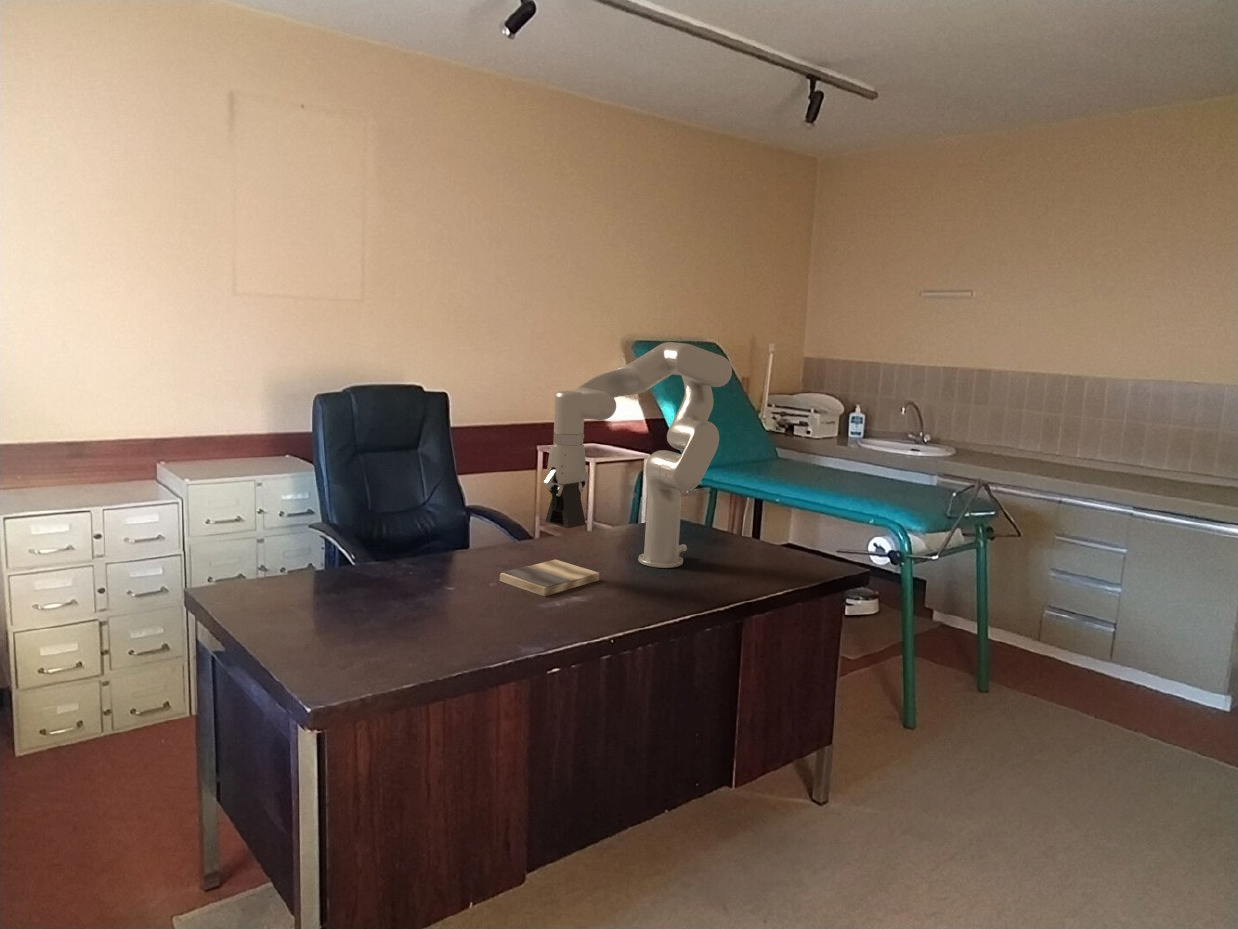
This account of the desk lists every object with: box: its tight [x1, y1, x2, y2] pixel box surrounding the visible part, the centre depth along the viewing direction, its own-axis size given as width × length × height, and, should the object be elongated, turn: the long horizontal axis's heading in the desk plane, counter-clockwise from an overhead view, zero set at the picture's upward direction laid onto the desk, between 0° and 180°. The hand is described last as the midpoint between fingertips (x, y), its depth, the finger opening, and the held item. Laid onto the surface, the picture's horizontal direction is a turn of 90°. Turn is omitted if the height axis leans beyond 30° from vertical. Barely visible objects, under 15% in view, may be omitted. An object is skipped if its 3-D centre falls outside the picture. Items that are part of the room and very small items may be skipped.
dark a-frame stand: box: [545, 480, 586, 529], centre depth 230 cm, size 9×6×12 cm, turn 46°
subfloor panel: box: [499, 559, 600, 597], centre depth 229 cm, size 20×16×2 cm
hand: (566, 508), depth 231 cm, fingers closed on dark a-frame stand, 6 cm apart
